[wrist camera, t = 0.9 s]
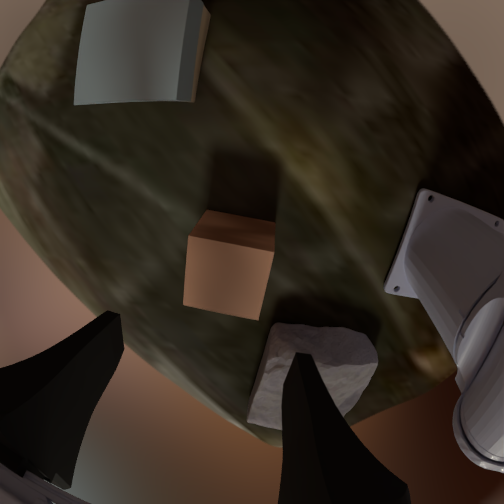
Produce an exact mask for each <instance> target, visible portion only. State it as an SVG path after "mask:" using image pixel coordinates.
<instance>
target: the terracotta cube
mask: <svg viewBox="0 0 504 504" xmlns="http://www.w3.org/2000/svg"><path fill="white" fill-rule="evenodd" d="M274 249H275V223H274V222H269V221H264V220H259V219H254V218H249V217H244V216H239V215H233V214H228V213H223V212H217V211H212V210H206V212H205V213H204V214H203V216H202V217H201V219H200V220H199V221H198V223H197V224H196V226H195V227H194V229H193V230H192V231H191V233H190V234H189V237H188V248H187V259H186V272H185V286H184V301H183V305H186V306H191V307H195V308H200V309H204V310H209V311H214V312H219V313H224V314H228V315H234V316H239V317H244V318H249V319H254V320H258V319H259V315H260V310H261V306H262V302H263V298H264V294H265V290H266V286H267V282H268V277H269V273H270V269H271V265H272V260H273V256H274Z"/></svg>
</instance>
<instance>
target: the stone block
mask: <svg viewBox="0 0 504 504" xmlns="http://www.w3.org/2000/svg"><path fill="white" fill-rule="evenodd" d="M296 352H299V353H306V354H311V355H312V357H313V359H314V361H315V364H316V366H317V368H318V371H319V373H320V375H321V377H322V379H323V381H324V383H325V385H326V388H327V389H328V391H329V393H330V395H331V397H332V399H333V401H334V403H335V404H336V406H337V408H338V409H339V411H340V413H341V414H342V416H343V417H344V415H345V414H346V413H347V412H348V411H349V410H351V409H352V407H353V406H354V405H355V404H356V402H357V401H358V399H359V397H360V396H361V394H362V391H363V390H364V389H365V387H366V386H367V385H368V383H369V381H370V379H371V376H372V375H373V373H374V371H375V369H376V367H377V365H378V357H377V352H376V349H375V347H374V346H373V344H372V343H371V341H370V340H369V339H368V337H367V335H365V334H363V333H360V332H356V331H353V330H351V329H348V328H344V327H320V328H318V327H311V326H308V325H304V324H286V323H280V322H278V323H275V324H274V325H273V326H272V327H271V329H270V333H269V336H268V340H267V343H266V346H265V350H264V353H263V357H262V360H261V363H260V366H259V370H258V373H257V376H256V380H255V383H254V386H253V389H252V392H251V395H250V398H249V403H248V408H247V410H248V411H247V422H248V423H255V424H257V425H261V426H265V427H269V428H275V429H279V430H282V411H281V404H282V392H283V383H284V381H285V378H286V376H287V373H288V371H289V368H290V366H291V363H292V361H293V358H294V356H295V353H296Z"/></svg>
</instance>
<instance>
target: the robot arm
mask: <svg viewBox="0 0 504 504" xmlns="http://www.w3.org/2000/svg"><path fill="white" fill-rule="evenodd" d="M430 195H432V199H431V200H430V201H428V197H429V196H430ZM495 222H496V224H495ZM396 286H398V288H397V289H394V288H395V287H396ZM384 290H385V291H386V293H389V294H395V295H401V296H406V297H412V298H418V299H419V300H420V301H421V303H422V305H423V306H424V308H425V310H426V311H427V313H428V315H429V316H430V318H431V320H432V321H433V323H434V325H435V326H436V328H437V330H438V332H439V333H440V335H441V337H442V339H443V340H444V342H445V344H446V346H447V348H448V350H449V351H450V353H451V355H452V357H453V359H454V361H455V363H456V364H457V367H458V373H457V375H456V378H455V380H456V382H457V384H458V386H459V389H460V391H461V393H462V395H461V396H460V398H459V400H458V401H457V403H456V406H455V409H454V413H453V429H454V434H455V437H456V440H457V443H458V444H459V446H460V448H461V450H462V451H463V452H464V454H465V455H466V456H467V457H468V458H469V459H470V460H471V461H472V462H474V463H475V464H477V465H478V466H481V467H483V468H485V469H489V470H494V471H499V472H502V473H504V220H503V219H501V218H499V217H497V216H494V215H492V214H490V213H487V212H485V211H483V210H480V209H478V208H476V207H473V206H471V205H468V204H466V203H463V202H461V201H458V200H455V199H453V198H450V197H447V196H445V195H442V194H439V193H437V192H434V191H431V190H428V189H425V188H422V189H420V190H419V191H418V193H417V196H416V199H415V202H414V206H413V209H412V212H411V215H410V218H409V221H408V224H407V226H406V229H405V232H404V235H403V238H402V240H401V243H400V246H399V248H398V251H397V254H396V256H395V259H394V261H393V264H392V266H391V269H390V271H389V274H388V276H387V279H386V281H385V283H384ZM123 351H124V343H123V335H122V327H121V318H120V314H118V313H114V312H111V311H106V312H104V313H103V314H101V315H100V316H98V317H97V318H95V319H94V320H93V321H91V322H90V323H88V324H87V325H85V326H84V327H82V328H81V329H79V330H78V331H76V332H75V333H73V334H72V335H70V336H69V337H67V338H66V339H64V340H62V341H60V342H59V343H57V344H56V345H54V346H52V347H51V348H49V349H47V350H45V351H43V352H41V353H39V354H37V355H35V356H33V357H30V358H28V359H26V360H23V361H20V362H18V363H15V364H13V365H9V366H6V367H3V368H0V504H53V503H52V502H54V503H56V504H90V503H88V502H85V501H84V500H81V499H79V498H77V497H75V496H73V495H71V494H69V493H67V492H65V491H63V490H61V489H59V488H57V487H55V486H53V485H52V484H54V485H56V486H58V487H60V488H62V489H69V488H71V485H72V479H73V473H74V469H75V464H76V460H77V457H78V453H79V450H80V446H81V443H82V440H83V437H84V434H85V431H86V428H87V426H88V423H89V420H90V418H91V415H92V413H93V411H94V409H95V407H96V405H97V403H98V401H99V399H100V397H101V396H102V394H103V392H104V390H105V388H106V387H107V385H108V383H109V381H110V379H111V378H112V376H113V374H114V372H115V370H116V368H117V366H118V364H119V361H120V359H121V356H122V354H123ZM281 411H282V440H283V463H282V474H281V483H280V491H279V499H278V504H411V500H410V493H409V489H408V486H407V484H406V483H405V482H403V481H402V480H401V479H399V478H398V477H397V476H395V475H394V474H393V473H392V472H390V471H389V470H388V469H387V468H386V467H385V466H384V465H383V464H381V463H380V462H379V461H378V460H377V459H376V458H375V457H374V455H373V454H372V453H371V452H370V451H369V450H368V449H367V448H366V447H365V446H364V445H363V443H362V442H361V441H360V440H359V439H358V437H357V436H356V435H355V433H354V432H353V431H352V429H351V428H350V426H349V425H348V424H347V422H346V421H345V419H344V418H343V416H342V414H341V413H340V411H339V409H338V408H337V406H336V404H335V403H334V401H333V399H332V397H331V395H330V393H329V391H328V389H327V388H326V385H325V383H324V381H323V379H322V377H321V375H320V373H319V371H318V368H317V366H316V364H315V361H314V359H313V357H312V355H311V354H306V353H299V352H296V353H295V356H294V358H293V361H292V363H291V366H290V368H289V371H288V373H287V376H286V378H285V381H284V383H283V392H282V404H281ZM44 480H46V481H48V482H49V483H48V482H46V481H44ZM50 483H52V484H50Z"/></svg>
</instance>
